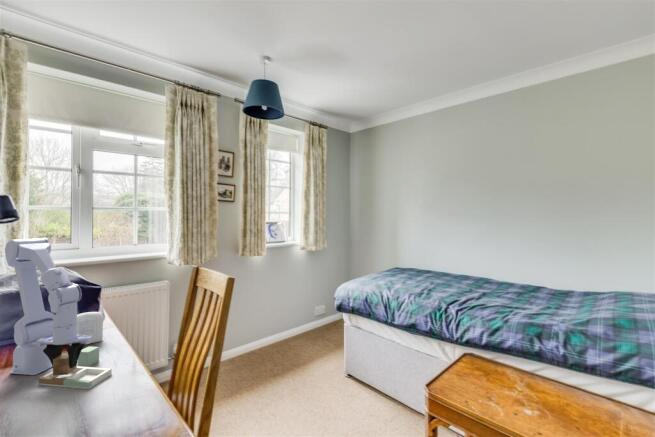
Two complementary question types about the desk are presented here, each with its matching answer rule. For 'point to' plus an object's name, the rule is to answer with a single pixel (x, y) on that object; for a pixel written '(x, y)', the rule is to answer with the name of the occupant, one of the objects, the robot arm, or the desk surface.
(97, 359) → the sage block
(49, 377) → the slot board
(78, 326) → the photo printer
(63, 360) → the walnut block
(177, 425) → the desk surface
